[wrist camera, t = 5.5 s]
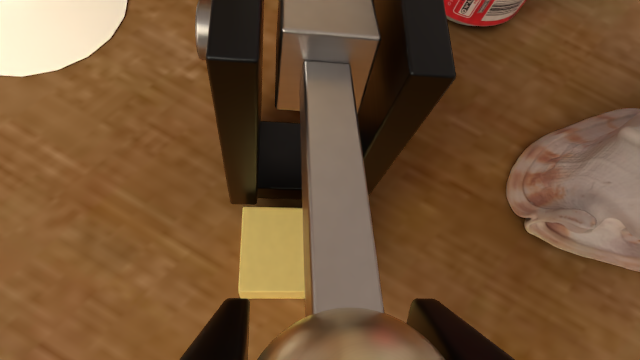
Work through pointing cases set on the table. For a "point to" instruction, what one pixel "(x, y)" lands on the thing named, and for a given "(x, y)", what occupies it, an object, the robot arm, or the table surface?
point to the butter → (271, 253)
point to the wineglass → (53, 32)
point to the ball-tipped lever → (335, 187)
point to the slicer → (284, 138)
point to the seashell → (584, 188)
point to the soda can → (481, 11)
